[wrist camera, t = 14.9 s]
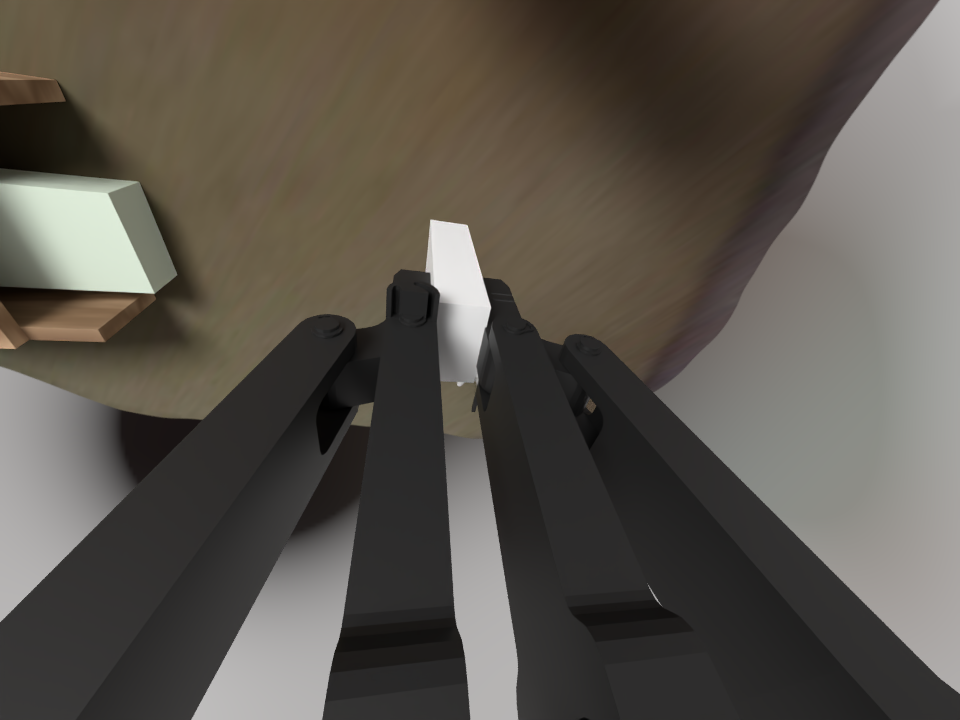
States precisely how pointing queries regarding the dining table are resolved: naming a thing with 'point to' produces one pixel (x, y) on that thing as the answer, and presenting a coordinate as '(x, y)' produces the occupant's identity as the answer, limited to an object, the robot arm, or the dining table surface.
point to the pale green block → (79, 234)
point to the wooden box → (58, 312)
